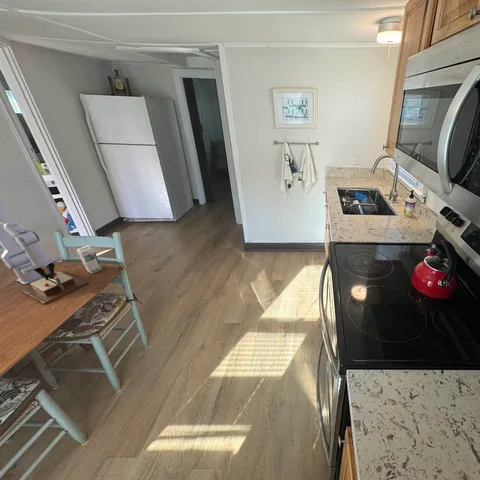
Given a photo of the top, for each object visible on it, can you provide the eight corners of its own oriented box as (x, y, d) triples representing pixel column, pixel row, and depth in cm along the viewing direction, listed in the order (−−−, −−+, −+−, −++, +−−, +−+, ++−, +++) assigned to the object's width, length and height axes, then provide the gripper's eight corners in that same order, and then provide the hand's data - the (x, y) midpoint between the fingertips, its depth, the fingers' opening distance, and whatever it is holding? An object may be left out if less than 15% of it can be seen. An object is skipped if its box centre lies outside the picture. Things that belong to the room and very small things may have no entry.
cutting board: (21, 290, 135) (12, 277, 131) (64, 272, 150) (57, 259, 146) (44, 304, 126) (35, 290, 122) (87, 283, 140) (81, 270, 136)
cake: (32, 288, 135) (28, 280, 133) (61, 276, 145) (57, 268, 143) (46, 296, 130) (41, 288, 128) (75, 282, 139) (71, 275, 137)
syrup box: (91, 274, 148) (80, 251, 141) (86, 271, 151) (75, 248, 144) (103, 269, 152) (93, 247, 146) (98, 266, 155) (88, 244, 149)
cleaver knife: (44, 281, 139) (38, 271, 136) (48, 279, 141) (42, 269, 138) (58, 289, 133) (53, 279, 130) (63, 287, 135) (57, 277, 132)
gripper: (20, 264, 122) (35, 288, 128) (59, 250, 133) (71, 272, 139) (13, 261, 124) (28, 284, 131) (52, 247, 136) (64, 269, 142)
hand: (50, 278), depth 135 cm, fingers closed on cleaver knife, 2 cm apart
